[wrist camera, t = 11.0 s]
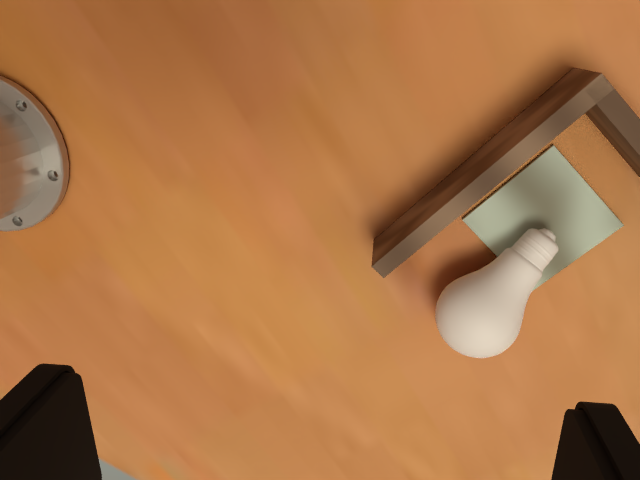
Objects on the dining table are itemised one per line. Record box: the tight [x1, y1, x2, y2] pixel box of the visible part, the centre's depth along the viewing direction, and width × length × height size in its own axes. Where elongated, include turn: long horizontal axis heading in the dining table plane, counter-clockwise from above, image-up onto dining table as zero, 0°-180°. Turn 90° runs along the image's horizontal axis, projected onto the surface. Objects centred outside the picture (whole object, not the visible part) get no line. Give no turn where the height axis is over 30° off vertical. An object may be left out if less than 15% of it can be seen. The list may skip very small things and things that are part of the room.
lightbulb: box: [435, 228, 558, 358], centre depth 38 cm, size 6×6×11 cm
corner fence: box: [372, 68, 640, 291], centre depth 37 cm, size 18×18×5 cm
